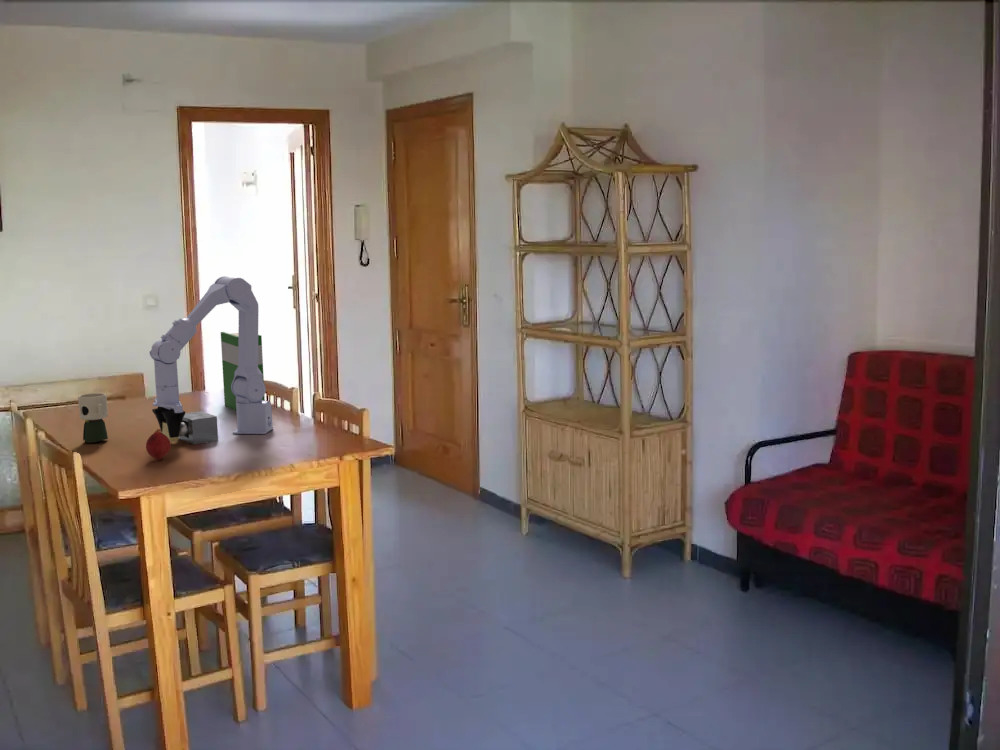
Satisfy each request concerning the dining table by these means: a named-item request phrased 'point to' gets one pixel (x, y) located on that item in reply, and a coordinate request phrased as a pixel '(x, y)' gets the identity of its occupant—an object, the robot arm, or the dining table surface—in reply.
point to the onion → (158, 445)
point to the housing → (200, 427)
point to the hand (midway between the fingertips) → (170, 435)
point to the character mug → (93, 416)
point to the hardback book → (234, 364)
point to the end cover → (182, 431)
